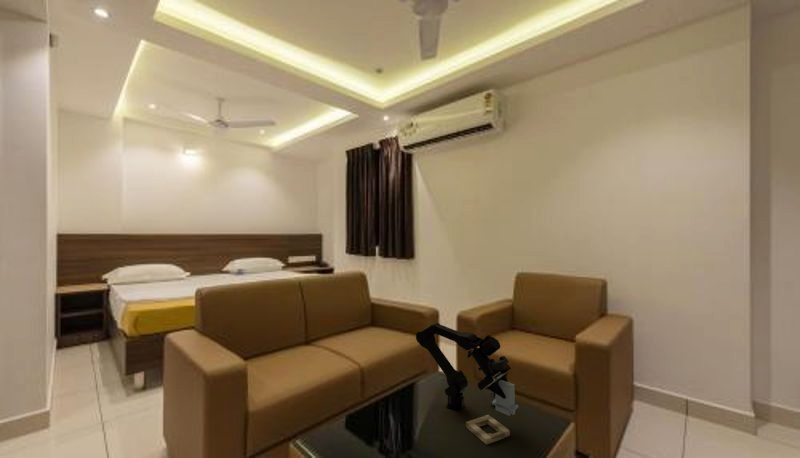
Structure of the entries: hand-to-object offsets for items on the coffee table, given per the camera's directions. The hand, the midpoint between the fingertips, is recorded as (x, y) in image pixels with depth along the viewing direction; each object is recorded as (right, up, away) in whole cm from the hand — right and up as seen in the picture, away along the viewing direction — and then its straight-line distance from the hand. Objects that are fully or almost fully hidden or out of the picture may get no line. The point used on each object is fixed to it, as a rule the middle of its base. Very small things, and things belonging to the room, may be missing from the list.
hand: (508, 395), depth 141 cm
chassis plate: (-9, -14, -1) cm, 16 cm away
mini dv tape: (+2, -13, +18) cm, 22 cm away
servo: (-1, -7, +1) cm, 7 cm away
